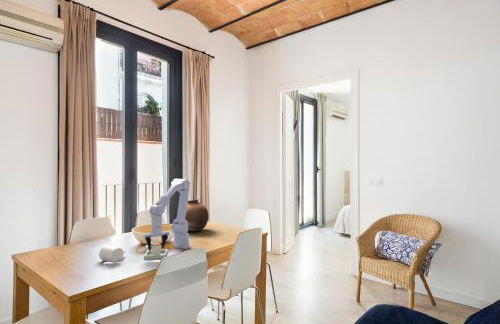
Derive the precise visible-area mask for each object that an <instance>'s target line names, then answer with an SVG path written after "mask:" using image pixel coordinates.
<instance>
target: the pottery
mask: <svg viewBox="0 0 500 324" xmlns="http://www.w3.org/2000/svg"><path fill="white" fill-rule="evenodd" d="M199 201H200V199H199V198H198V199H197V198H196V199H191V200H189V199H188V201H187V208H186V216H185V219H186V220H187V221H188V231H187V232H199V231H202V230H204V228H205V227H206V226H207V224H208V222H209V217H210V216H209V211H208V209H207V207H206V206H205V204H203V203H201V202H199Z"/></svg>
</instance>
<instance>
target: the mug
mask: <svg viewBox="0 0 500 324" xmlns="http://www.w3.org/2000/svg"><path fill="white" fill-rule="evenodd" d="M125 253H126V249H125V248H121V247H116V246H113V245H107V244H106V245H104V246H102V247H101V248H100V250H99V253H98V256H99V259H100V260H101V261H106V262H110V263H114V264H117V263H120V260H121V261H122V259H123V258H124V254H125Z"/></svg>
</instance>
